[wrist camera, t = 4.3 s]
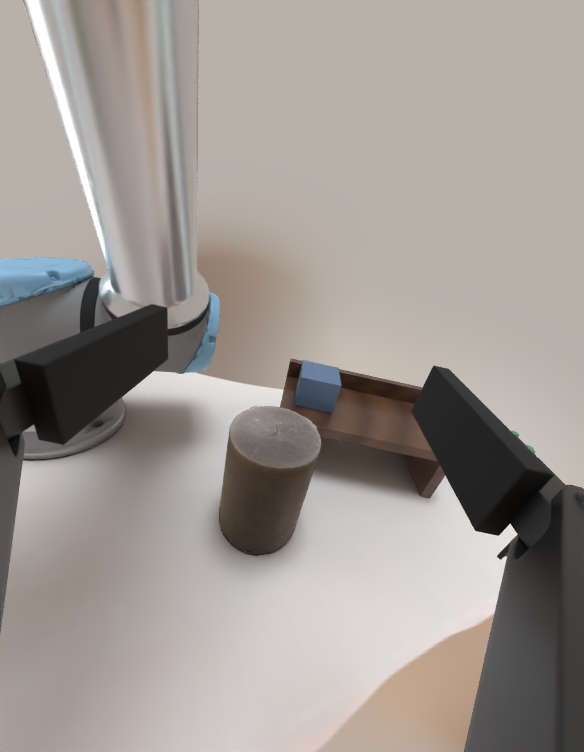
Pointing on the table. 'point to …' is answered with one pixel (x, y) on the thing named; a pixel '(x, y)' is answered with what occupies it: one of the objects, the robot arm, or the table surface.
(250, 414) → the pillar candle
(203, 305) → the robot arm
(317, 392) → the slate box
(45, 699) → the table surface
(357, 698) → the table surface
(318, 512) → the table surface
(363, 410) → the shelf
